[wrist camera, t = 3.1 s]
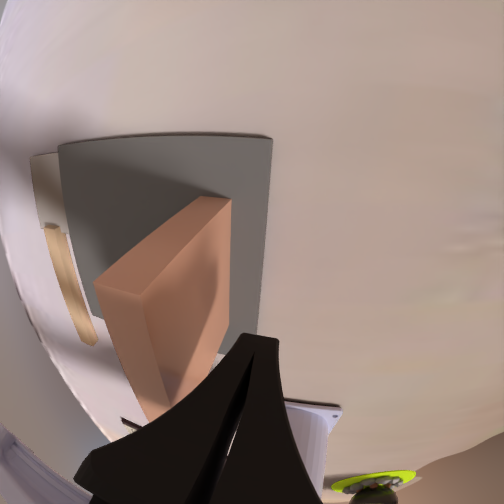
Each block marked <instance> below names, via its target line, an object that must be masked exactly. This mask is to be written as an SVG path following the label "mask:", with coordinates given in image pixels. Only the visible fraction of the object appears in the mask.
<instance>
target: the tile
mask: <svg viewBox="0 0 504 504" xmlns="http://www.w3.org/2000/svg"><path fill="white" fill-rule="evenodd" d="M231 202H232V199H227V198H217V197H206V196H200V197H198V198H197V199H196V200H194V201H193V202H192V203H190V204H189V205H188V206H186V207H185V208H183V209H182V210H181V211H179V212H178V213H177V214H175V215H174V216H173V217H171V218H170V219H169V220H168V221H166V222H165V223H164V224H162V225H161V226H160V227H158V228H157V229H156V230H155V231H153V232H152V233H151V234H150V235H148V236H147V237H146V238H144V239H143V240H142V241H141V242H140V243H138V244H137V245H136V246H135V247H133V248H132V249H131V250H130V251H128V252H127V253H126V254H125V255H124V256H122V257H121V258H120V259H119V260H118V261H117V262H115V263H114V264H113V265H112V266H111V267H109V268H108V269H107V270H106V271H105V272H104V273H103V274H101V275H100V276H99V277H98V278H97V279H96V280H95V281H93V285H94V288H95V292H96V295H97V298H98V302H99V305H100V308H101V311H102V314H103V317H104V320H105V323H106V326H107V329H108V331H109V334H110V337H111V340H112V342H113V345H114V348H115V350H116V353H117V355H118V358H119V360H120V362H121V365H122V367H123V370H124V372H125V374H126V376H127V379H128V381H129V383H130V385H131V387H132V390H133V392H134V394H135V396H136V398H137V400H138V402H139V404H140V406H141V408H142V410H143V412H144V414H145V416H146V417H147V419H148V421H149V423H150V422H152V421H153V420H155V419H156V418H158V417H159V416H161V415H162V414H164V413H165V412H166V411H168V410H169V409H171V408H172V407H173V406H175V405H176V404H177V403H178V402H180V401H181V400H182V399H183V398H184V397H186V396H187V395H188V394H189V393H190V392H191V391H192V390H194V389H195V388H196V387H197V386H198V385H199V384H200V383H201V382H202V381H203V380H204V379H205V378H206V377H207V376H208V373H209V371H210V369H211V366H212V364H213V362H214V359H215V357H216V355H217V352H218V350H219V348H220V345H221V343H222V340H223V338H224V336H225V333H226V331H227V329H228V326H229V289H230V237H231Z"/></svg>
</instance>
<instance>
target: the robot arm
mask: <svg viewBox="0 0 504 504" xmlns="http://www.w3.org/2000/svg"><path fill="white" fill-rule="evenodd" d="M278 355H279V340H278V339H277V338H271V337H265V336H260V335H255V334H249V333H242V334H240V336H239V337H238V339H237V340H236V342H235V343H234V345H233V346H232V348H231V349H230V350H229V352H228V353H227V354H226V355H225V357H224V358H223V359H222V360H221V361H220V363H219V364H218V365H217V366H216V367H215V368H214V369H213V370H212V372H211V373H210V374H209V375H208V376H207V377H206V378H205V379H204V380H203V381H202V382H201V383H200V384H199V385H198V386H197V387H196V388H195V389H194V390H192V391H191V392H190V393H189V394H188V395H187V396H186V397H184V398H183V399H182V400H181V401H180V402H178V403H177V404H176V405H175V406H173V407H172V408H171V409H169V410H168V411H166V412H165V413H164V414H162V415H161V416H159V417H158V418H156V419H155V420H153V421H152V422H150V423H149V424H147V425H145V426H143V427H142V428H140V429H138V430H136V431H134V432H133V433H131V434H129V435H127V436H125V437H123V438H121V439H119V440H116V441H114V442H112V443H109V444H107V445H104V446H102V447H99V448H97V449H94V450H92V451H91V452H90V453H89V455H88V456H87V457H86V458H85V460H84V461H83V462H82V464H81V466H80V468H79V469H78V471H77V473H76V474H75V476H74V478H73V479H74V481H75V482H76V483H77V484H78V485H80V486H81V487H83V488H84V489H86V490H88V491H89V492H91V493H92V494H93V496H91V495H89V494H88V493H86V492H85V491H83V490H82V489H80V488H78V487H77V486H76V485H74V484H73V483H71V482H70V481H68V480H67V479H65V478H64V477H63V476H61V475H60V474H59V473H57V472H56V471H55V470H53V469H52V468H51V467H49V466H48V465H47V464H46V463H44V462H43V461H42V460H41V459H39V458H38V457H37V456H36V455H35V454H34V452H33V451H32V450H31V449H29V448H28V447H27V446H26V445H25V444H24V443H23V442H22V441H21V440H20V439H18V438H17V437H16V436H15V435H14V434H13V433H11V432H10V431H9V430H7V428H6V427H5V426H4V425H2V423H1V422H0V494H1V496H2V497H3V498H4V500H5V501H6V502H7V504H323V503H322V501H321V496H322V489H323V481H324V473H325V463H326V453H327V442H328V435H329V433H330V432H331V430H332V429H333V427H334V426H335V424H336V423H337V421H338V420H339V418H340V417H341V415H342V414H343V409H342V408H339V407H329V406H319V405H310V404H302V403H294V402H287V401H284V397H283V392H282V386H281V379H280V371H279V356H278ZM241 416H242V417H241ZM240 419H241V420H240ZM239 421H240V423H239ZM238 424H239V426H238ZM237 426H238V429H237ZM236 429H237V432H236V435H235V437H234V440H233V443H232V446H231V449H230V452H229V454H228V457H227V453H228V450H229V447H230V444H231V441H232V439H233V436H234V434H235V431H236ZM226 457H227V460H226ZM225 460H226V462H225ZM224 464H225V465H224ZM223 467H224V468H223Z"/></svg>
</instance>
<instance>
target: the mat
mask: <svg viewBox="0 0 504 504" xmlns="http://www.w3.org/2000/svg"><path fill="white" fill-rule="evenodd" d="M272 145H273V139H268V138H255V137H239V136H215V135H165V136H141V137H125V138H113V139H103V140H94V141H85V142H78V143H71V144H64V145H60V146H58V158H59V169H60V179H61V187H62V194H63V201H64V207H65V213H66V218H67V224H68V229H69V234H70V238H71V243H72V247H73V251H74V255H75V259H76V263H77V267H78V271H79V274H80V278H81V281H82V285H83V288H84V291H85V295H86V298H87V301H88V304H89V307H90V310H91V313H92V315H93V316H96V317H99V318H101V319H104V317H103V314H102V311H101V308H100V305H99V302H98V298H97V295H96V292H95V288H94V285H93V281H95V280H96V279H97V278H98V277H99V276H100V275H101V274H103V273H104V272H105V271H106V270H107V269H108V268H109V267H111V266H112V265H113V264H114V263H115V262H117V261H118V260H119V259H120V258H121V257H122V256H124V255H125V254H126V253H127V252H128V251H130V250H131V249H132V248H133V247H135V246H136V245H137V244H138V243H140V242H141V241H142V240H143V239H144V238H146V237H147V236H148V235H150V234H151V233H152V232H153V231H155V230H156V229H157V228H158V227H160V226H161V225H162V224H164V223H165V222H166V221H168V220H169V219H170V218H171V217H173V216H174V215H175V214H177V213H178V212H179V211H181V210H182V209H183V208H185V207H186V206H188V205H189V204H190V203H192V202H193V201H194V200H196V199H197V198H198V197H200V196H206V197H217V198H227V199H232V202H231V237H230V289H229V326H228V329H227V331H226V333H225V336H224V338H223V340H222V343H221V345H220V348H219V350H218V352H217V353H219V354H224V355H226V354H227V353H228V352H229V350H230V349H231V348H232V346H233V345H234V343H235V342H236V340H237V339H238V337H239V336H240V334H242V333H249V334H255V335H257V324H258V314H259V303H260V292H261V281H262V269H263V258H264V246H265V235H266V223H267V210H268V198H269V185H270V172H271V159H272Z"/></svg>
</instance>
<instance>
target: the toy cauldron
mask: <svg viewBox="0 0 504 504" xmlns="http://www.w3.org/2000/svg"><path fill="white" fill-rule="evenodd" d="M415 474H416V472H415V471H410V470H396V471H385V472H378V473H372V474H366V475H361V476H356V477H351V478H347V479H344V480H341V481H338V482H336V483H334V484H332V486H331V489H332V490H334V491H337V492H342V493H345V494H355V493H356V494H355V495H354V496H353V497H352V498H351V500H350V502H349V504H398V498H397V496H396V493H395V492H394V491H393V490H392V488H394V487H398V486H400V485H402V484H404V483H406V482H408V481H410V480H411V479H413V478H414V477H415Z"/></svg>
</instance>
